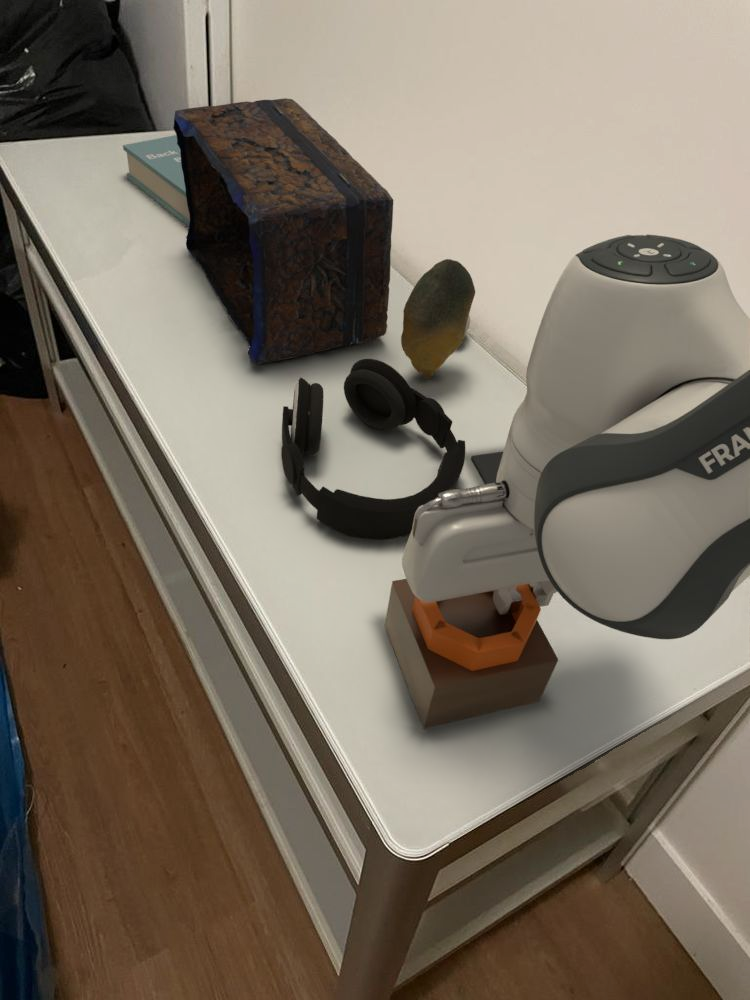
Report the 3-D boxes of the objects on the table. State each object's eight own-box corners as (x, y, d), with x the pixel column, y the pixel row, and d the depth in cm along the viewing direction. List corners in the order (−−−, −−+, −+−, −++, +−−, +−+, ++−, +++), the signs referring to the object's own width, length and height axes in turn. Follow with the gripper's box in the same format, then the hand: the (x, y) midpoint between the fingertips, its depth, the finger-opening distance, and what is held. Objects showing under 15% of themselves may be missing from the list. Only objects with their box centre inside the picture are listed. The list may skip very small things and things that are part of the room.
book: (127, 177, 123) (122, 145, 119) (216, 158, 131) (214, 127, 127) (204, 238, 111) (202, 204, 108) (296, 213, 119) (297, 181, 116)
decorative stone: (416, 404, 89) (436, 286, 79) (381, 376, 92) (396, 259, 82) (475, 376, 94) (502, 262, 83) (441, 351, 97) (462, 237, 86)
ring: (548, 654, 59) (556, 636, 58) (439, 678, 57) (444, 660, 55) (501, 567, 65) (508, 547, 63) (401, 585, 63) (405, 565, 61)
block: (539, 701, 63) (558, 659, 59) (423, 729, 61) (434, 687, 56) (491, 604, 70) (505, 560, 66) (384, 625, 67) (392, 580, 63)
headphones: (396, 332, 84) (507, 461, 74) (384, 386, 90) (486, 511, 80) (243, 375, 76) (346, 524, 67) (242, 431, 82) (336, 575, 73)
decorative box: (261, 386, 90) (409, 334, 97) (238, 222, 76) (414, 173, 82) (169, 265, 109) (299, 227, 115) (135, 113, 94) (287, 80, 100)
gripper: (436, 534, 47) (407, 663, 56) (722, 486, 52) (651, 611, 62) (402, 463, 51) (381, 595, 61) (671, 426, 56) (612, 552, 66)
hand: (519, 603), depth 61 cm, fingers closed on ring, 1 cm apart
